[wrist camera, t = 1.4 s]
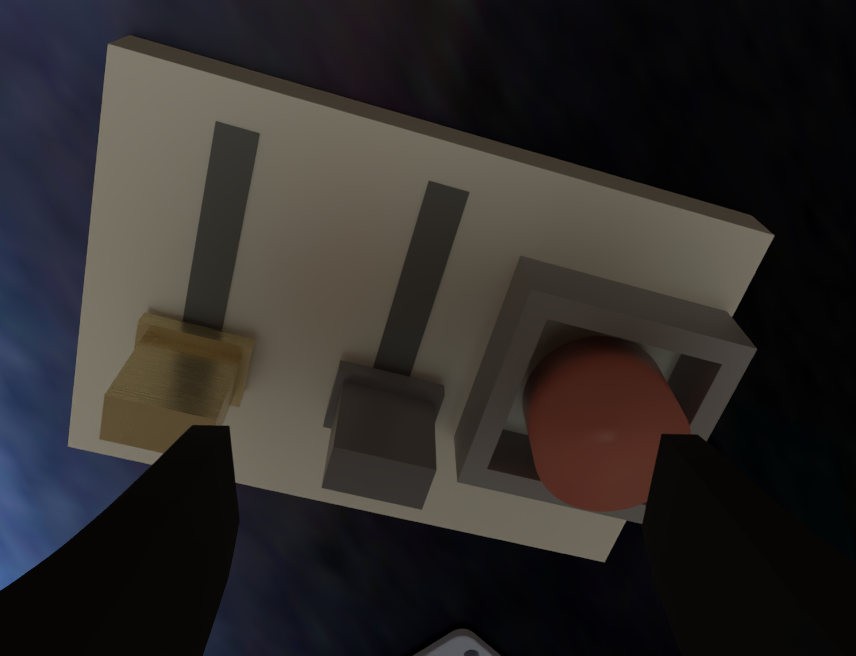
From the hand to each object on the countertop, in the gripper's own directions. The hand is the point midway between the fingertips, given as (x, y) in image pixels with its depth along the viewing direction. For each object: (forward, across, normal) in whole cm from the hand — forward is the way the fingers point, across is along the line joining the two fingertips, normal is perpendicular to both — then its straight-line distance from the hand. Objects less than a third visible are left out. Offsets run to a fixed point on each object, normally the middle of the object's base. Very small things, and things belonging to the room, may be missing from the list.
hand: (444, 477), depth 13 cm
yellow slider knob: (+7, +6, +2) cm, 9 cm away
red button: (+6, -4, +2) cm, 8 cm away
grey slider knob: (+7, +1, +3) cm, 8 cm away
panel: (+9, +1, +2) cm, 9 cm away
